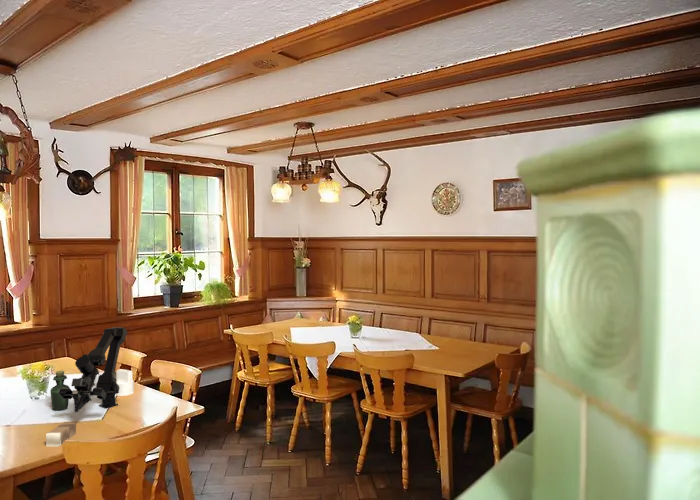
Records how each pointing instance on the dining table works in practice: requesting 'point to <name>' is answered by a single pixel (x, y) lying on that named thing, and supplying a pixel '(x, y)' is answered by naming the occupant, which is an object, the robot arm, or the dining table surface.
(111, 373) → the robot arm
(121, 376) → the white cutaway cylinder
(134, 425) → the dining table surface
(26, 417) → the dining table surface
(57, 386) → the potion bottle
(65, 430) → the cream and brown block
